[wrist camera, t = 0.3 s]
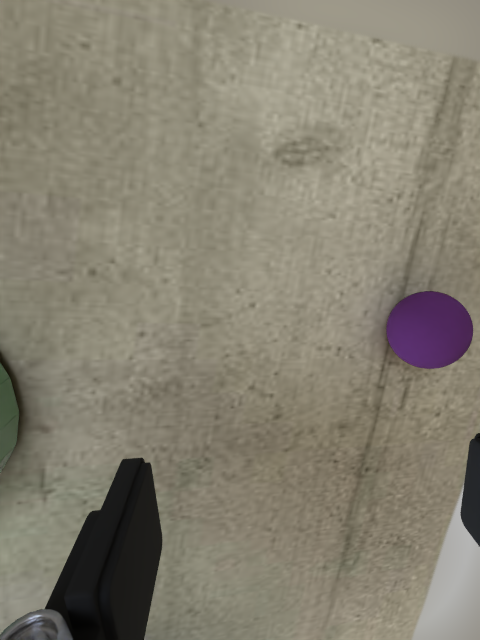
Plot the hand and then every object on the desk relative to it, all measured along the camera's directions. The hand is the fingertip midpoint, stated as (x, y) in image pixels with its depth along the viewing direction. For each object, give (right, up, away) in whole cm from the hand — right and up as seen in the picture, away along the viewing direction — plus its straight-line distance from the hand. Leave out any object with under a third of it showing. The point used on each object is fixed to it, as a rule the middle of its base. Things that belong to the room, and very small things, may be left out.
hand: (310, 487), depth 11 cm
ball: (+9, +4, +10) cm, 14 cm away
